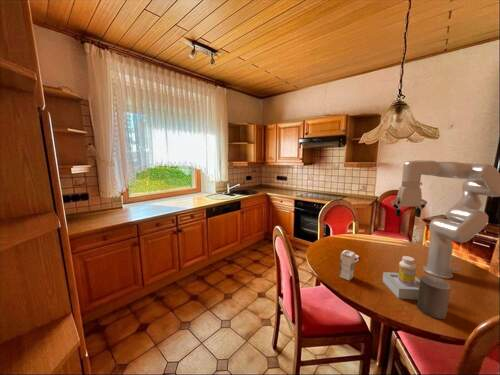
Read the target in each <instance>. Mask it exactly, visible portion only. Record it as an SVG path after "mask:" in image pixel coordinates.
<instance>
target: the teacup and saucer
mask: <svg viewBox="0 0 500 375" xmlns="http://www.w3.org/2000/svg"><path fill="white" fill-rule="evenodd" d="M359 257H360V256H359V255H358V254H355V263H357V262H359V260H360V259H359Z"/></svg>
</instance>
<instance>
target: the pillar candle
mask: <svg viewBox="0 0 500 375" xmlns="http://www.w3.org/2000/svg"><path fill="white" fill-rule="evenodd" d="M419 280H420V285H419V294H418V300H417V304H416V306H417V310H419V311H420V312H421V313H422V314H424V315H425V316H428V317H431V318H434V319H438V320H444V319H447V313H448V309H449V301H450V294H451V287H452V286H451V284H450V283H449V282H447V281H445V280H444V279H443V278H440V277H436V276H433V275H430V274H428V275H427V274H425V275H421V276H420V279H419Z"/></svg>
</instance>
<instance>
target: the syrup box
mask: <svg viewBox="0 0 500 375" xmlns="http://www.w3.org/2000/svg"><path fill="white" fill-rule="evenodd" d="M355 255H356V252H354V251H351V250H348V249H345V250H343V251H342V252H340V260H339V271H338V272H339V273H338V277H339V278H341V279H343V280H347V281H351V280H352V279H353V278H354V274H355V272H354V271H355V263H356V262H355V261H356V259H355Z"/></svg>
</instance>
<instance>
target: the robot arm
mask: <svg viewBox="0 0 500 375" xmlns="http://www.w3.org/2000/svg"><path fill="white" fill-rule="evenodd" d="M402 168H403V169H402V178H401V186H400V187H399V189H398V191H397V196H396V198H395V199H392V200H391V201H390V203H391V205H392V207H393V208H394V209H395V213H394V214H395V216H396V217H398V218H401V213H402V210H401V209H402V208H403V207H414V208H415V209H414V216H415V217H417V218H420V217H421V214H422V210H424V208H425V207H426V205H427V204H428V201H427V200H425V199H423V197H422V195H423V194H422V188H421V186H423V182H421V179H422V177H421V176H433V177H438V178H446V179H447V178H448V179H460V180H464V182H463V183H462V185H461V186H462V187H461V188H462V196H461V198H460V200H458V202H456V203H455V204H454V205H453V206H452V207H450V209H448V211H447V212H446V214H445V217H446V218H441V217H439V218H438V217H437V218H433V219H431V221H430V223H429V226H428V227H429V235H430V236H429V237H430V238H429V246H428V255H427V263H426V264H425V265H424V266H423V268H422V270H423V271H424V272H425V273H427V274H428V275H430V276H434V277H437V278H440V279H446V280H449V279H453V277H454V274H453V272H454V273H455V272H456V273H457V272H460V269H459V268H458V267H453V266H452V263H451V262H452V255H453V250H454V245H453V244H454V243H453V241H454V242H456V243H461V244H462V243H467V242H468V241H470V240H472V238H474V237H475V236H476V235H477V234H479V233H480V232H481V231H482V230H483V229H485V227H486V226H487V224H488V222H489V216H488V214H487V213H486V212H485V211H483V210H480V209H481V208H482V201H481V198H480V196H486V197H492V198H497V197H500V172H499V170H498V169H497V168H496V167H494V165H492V164H490V163H467V162H459V161H457V162H456V161H435V160H410V161H405V162H404V163H403V167H402Z"/></svg>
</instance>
